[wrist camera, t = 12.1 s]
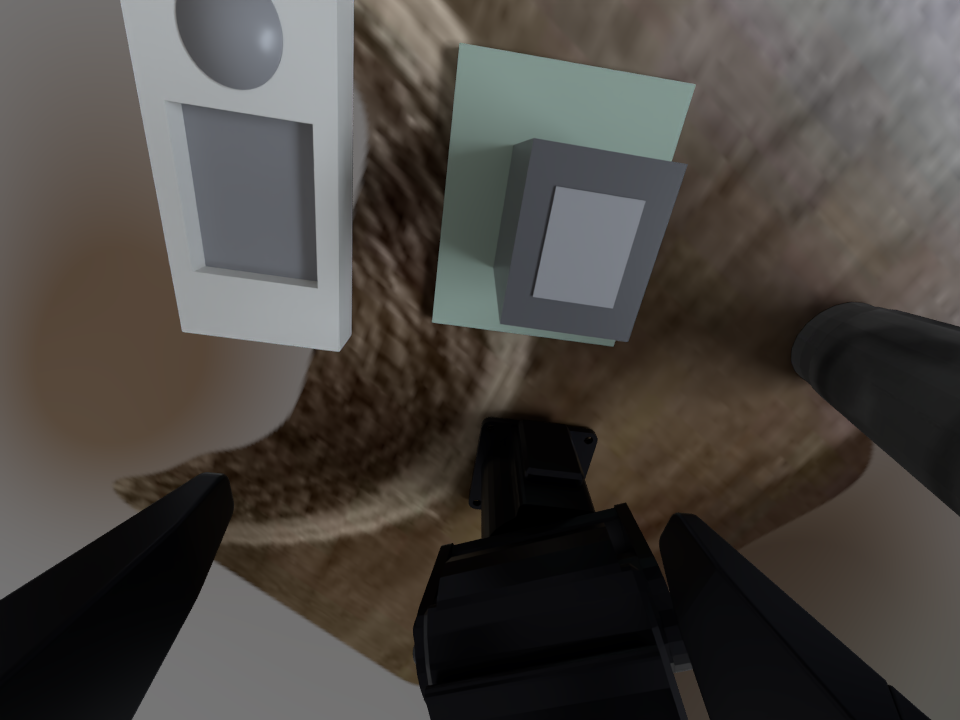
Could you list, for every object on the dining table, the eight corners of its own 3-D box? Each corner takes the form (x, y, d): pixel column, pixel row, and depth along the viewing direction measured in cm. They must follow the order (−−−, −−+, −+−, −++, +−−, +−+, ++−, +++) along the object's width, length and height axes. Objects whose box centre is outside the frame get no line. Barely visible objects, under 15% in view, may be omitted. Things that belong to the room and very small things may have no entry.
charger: (579, 280, 19) (628, 343, 13) (493, 267, 19) (500, 324, 12) (610, 161, 17) (688, 164, 10) (513, 144, 17) (534, 137, 10)
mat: (609, 341, 21) (613, 346, 20) (433, 317, 20) (432, 322, 20) (688, 86, 16) (695, 84, 16) (460, 46, 16) (459, 42, 15)
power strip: (351, 335, 21) (335, 357, 19) (208, 316, 20) (173, 337, 18) (356, -290, 12) (326, -396, 10) (105, -346, 12) (12, -470, 9)
